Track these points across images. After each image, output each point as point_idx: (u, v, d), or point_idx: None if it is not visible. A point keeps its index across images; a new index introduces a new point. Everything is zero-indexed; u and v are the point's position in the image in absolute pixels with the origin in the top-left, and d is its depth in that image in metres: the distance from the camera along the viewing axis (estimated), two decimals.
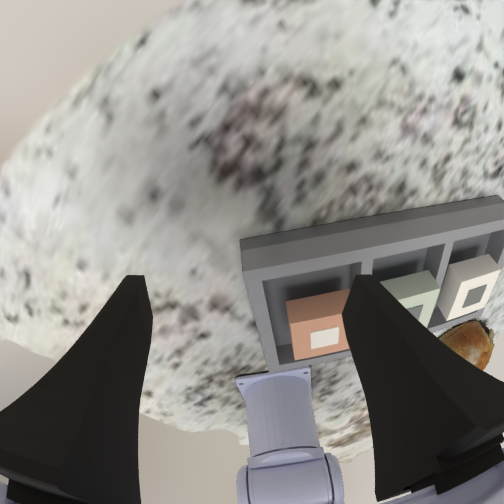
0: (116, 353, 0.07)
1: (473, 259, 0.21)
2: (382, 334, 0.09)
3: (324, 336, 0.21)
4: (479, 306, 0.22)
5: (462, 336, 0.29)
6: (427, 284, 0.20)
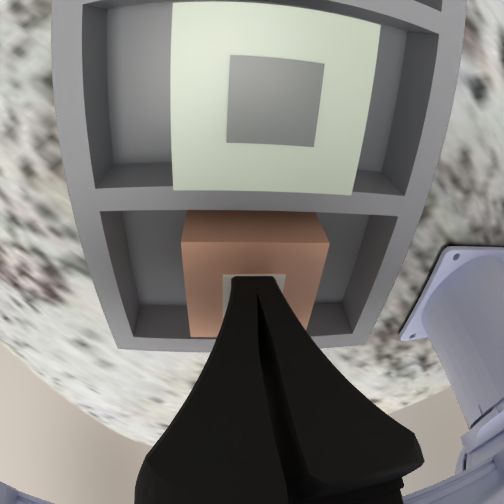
0: None
1: None
2: (265, 343, 0.08)
3: None
4: None
5: None
6: None
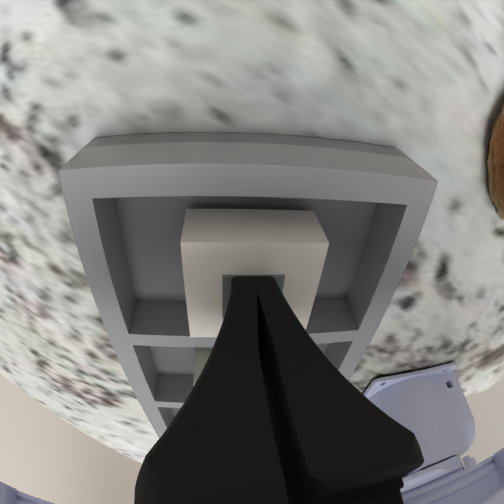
0: None
1: None
2: (265, 343, 0.08)
3: None
4: (310, 265, 0.10)
5: None
6: None
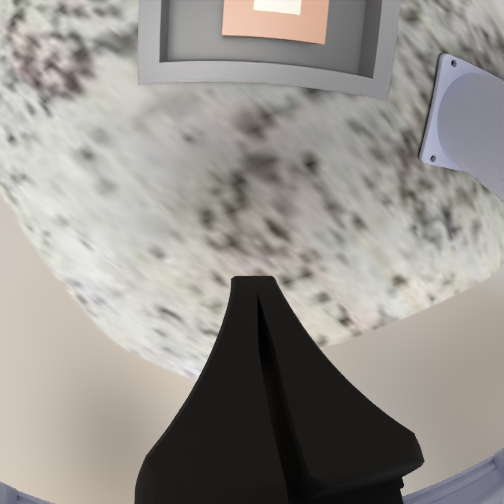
0: None
1: None
2: (265, 343, 0.08)
3: None
4: None
5: None
6: None
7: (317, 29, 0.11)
